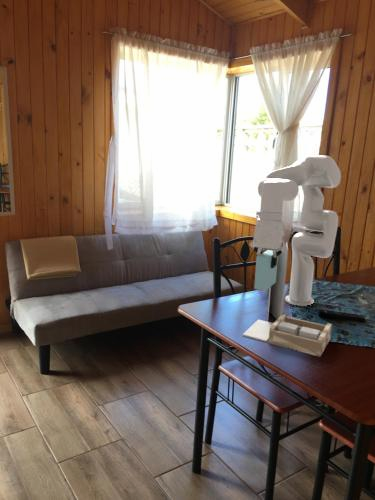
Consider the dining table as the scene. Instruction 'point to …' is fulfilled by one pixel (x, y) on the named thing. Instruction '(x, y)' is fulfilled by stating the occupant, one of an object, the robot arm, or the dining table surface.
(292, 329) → the offcut
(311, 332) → the offcut
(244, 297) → the dining table surface
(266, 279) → the teal rectangular block
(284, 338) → the crate
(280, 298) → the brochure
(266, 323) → the mat
